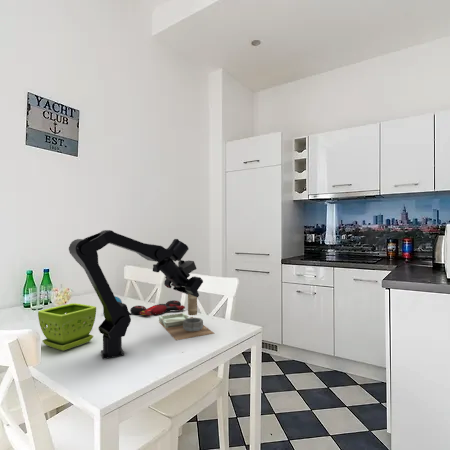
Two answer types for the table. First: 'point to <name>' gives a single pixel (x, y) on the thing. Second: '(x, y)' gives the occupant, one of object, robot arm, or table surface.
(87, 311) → the flower pot
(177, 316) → the stand
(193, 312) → the dowel
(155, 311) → the toy motorcycle
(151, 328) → the table surface
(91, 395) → the table surface
